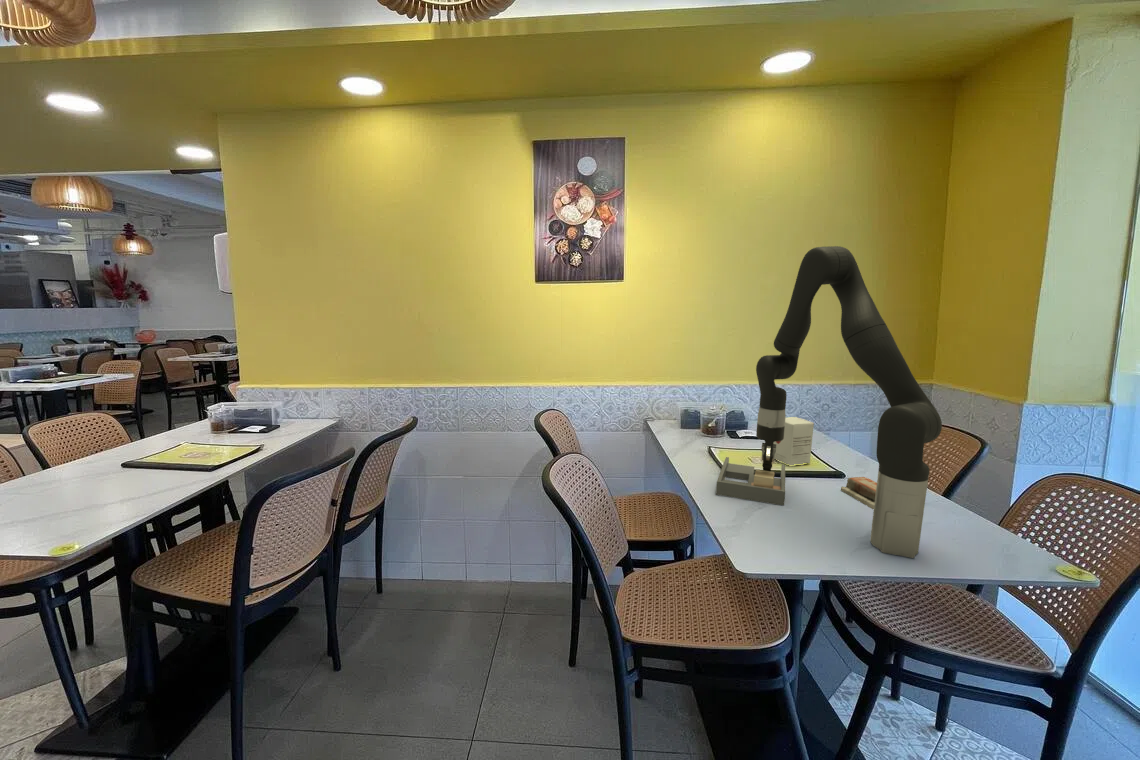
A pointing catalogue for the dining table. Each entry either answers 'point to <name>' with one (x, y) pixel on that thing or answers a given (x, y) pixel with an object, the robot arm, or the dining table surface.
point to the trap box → (749, 485)
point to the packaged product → (861, 490)
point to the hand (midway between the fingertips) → (766, 479)
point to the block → (764, 478)
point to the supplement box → (795, 442)
